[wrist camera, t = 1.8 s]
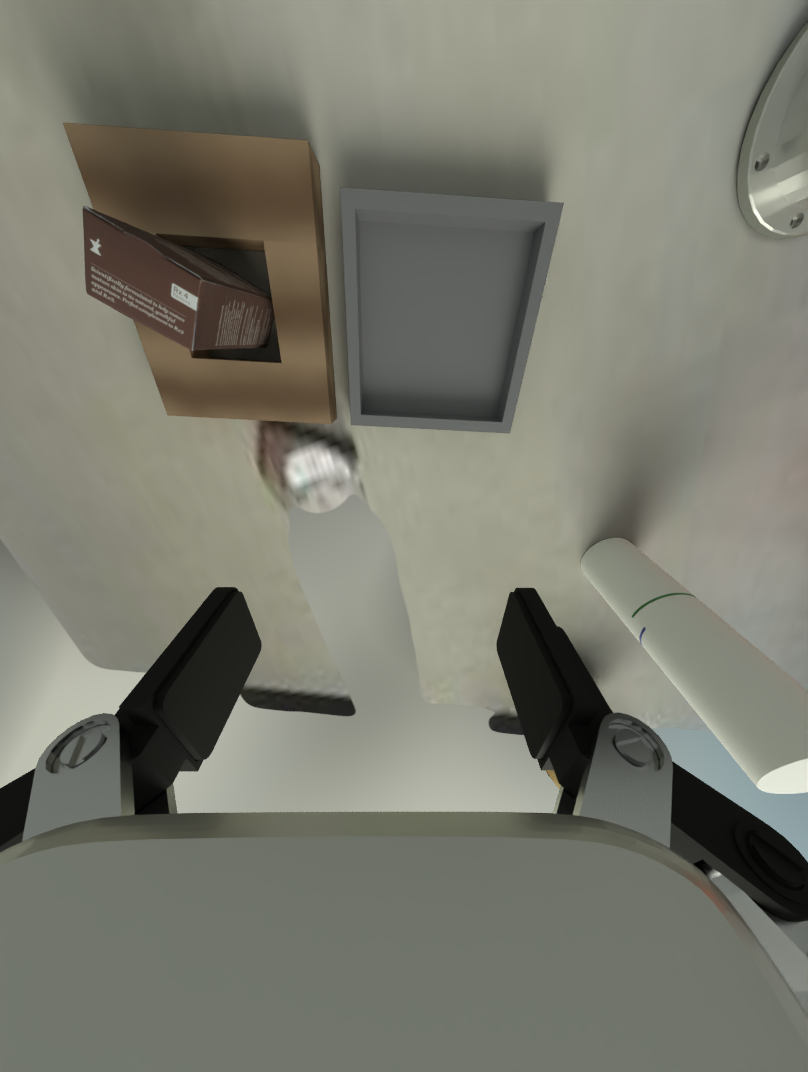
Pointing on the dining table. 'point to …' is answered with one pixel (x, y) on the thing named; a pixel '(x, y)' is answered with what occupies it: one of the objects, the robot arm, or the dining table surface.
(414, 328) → the tray
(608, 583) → the cylindrical container
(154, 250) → the box
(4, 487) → the dining table surface
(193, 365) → the socket board
